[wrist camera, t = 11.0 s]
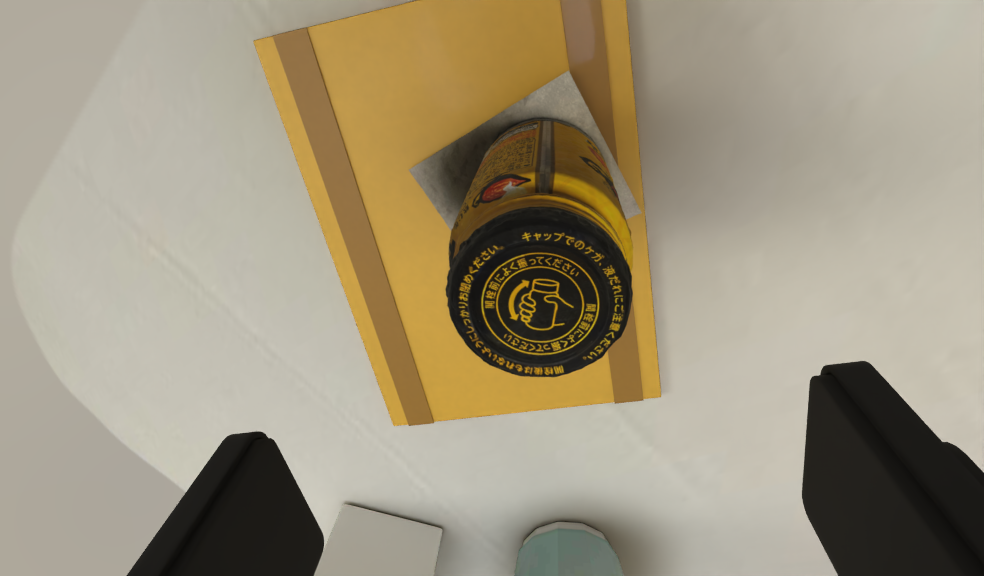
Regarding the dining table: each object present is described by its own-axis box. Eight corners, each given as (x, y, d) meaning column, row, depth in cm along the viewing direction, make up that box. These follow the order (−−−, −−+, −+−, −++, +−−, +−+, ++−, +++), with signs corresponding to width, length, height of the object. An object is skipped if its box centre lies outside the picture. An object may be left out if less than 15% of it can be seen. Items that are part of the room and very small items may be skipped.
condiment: (641, 211, 26) (704, 353, 15) (489, 287, 28) (452, 454, 18) (568, 69, 23) (582, 119, 12) (409, 168, 26) (310, 277, 15)
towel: (256, 40, 24) (251, 40, 24) (620, -50, 21) (622, -51, 21) (395, 422, 34) (393, 427, 33) (660, 392, 31) (661, 398, 30)
